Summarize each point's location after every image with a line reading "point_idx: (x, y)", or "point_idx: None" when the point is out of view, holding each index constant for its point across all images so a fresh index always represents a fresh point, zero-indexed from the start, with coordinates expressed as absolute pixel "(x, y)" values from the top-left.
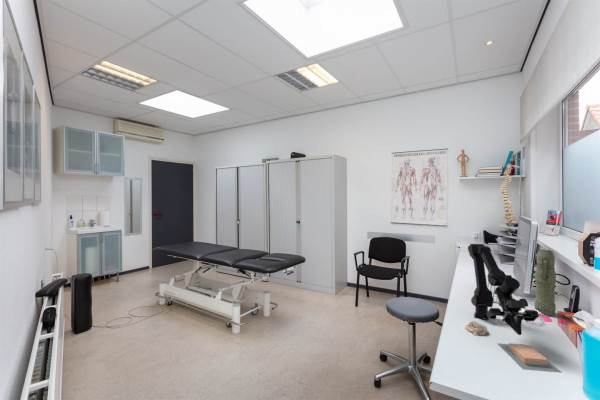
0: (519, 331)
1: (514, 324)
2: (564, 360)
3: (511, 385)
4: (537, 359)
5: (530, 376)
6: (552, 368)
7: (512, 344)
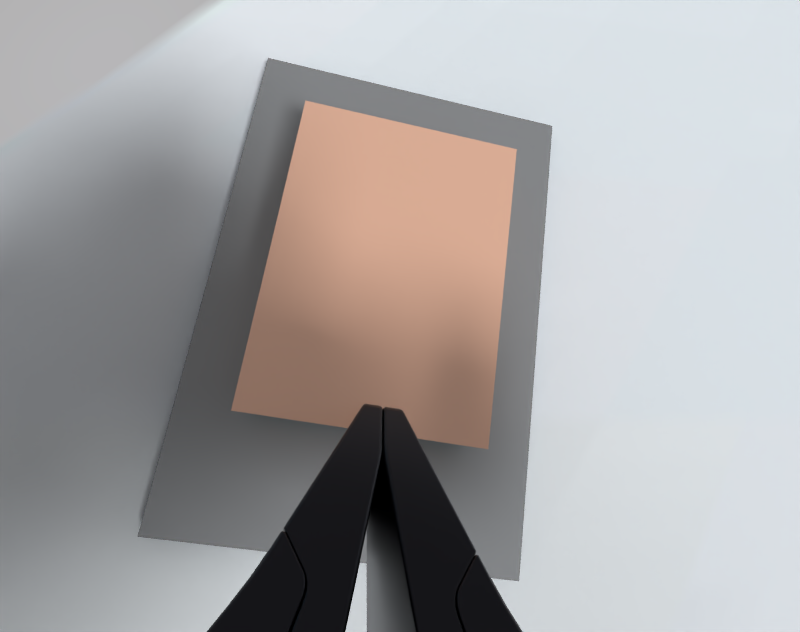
0: (385, 435)
1: (475, 577)
2: (9, 242)
3: (707, 20)
4: (401, 125)
5: (535, 75)
6: (298, 109)
7: (461, 416)
